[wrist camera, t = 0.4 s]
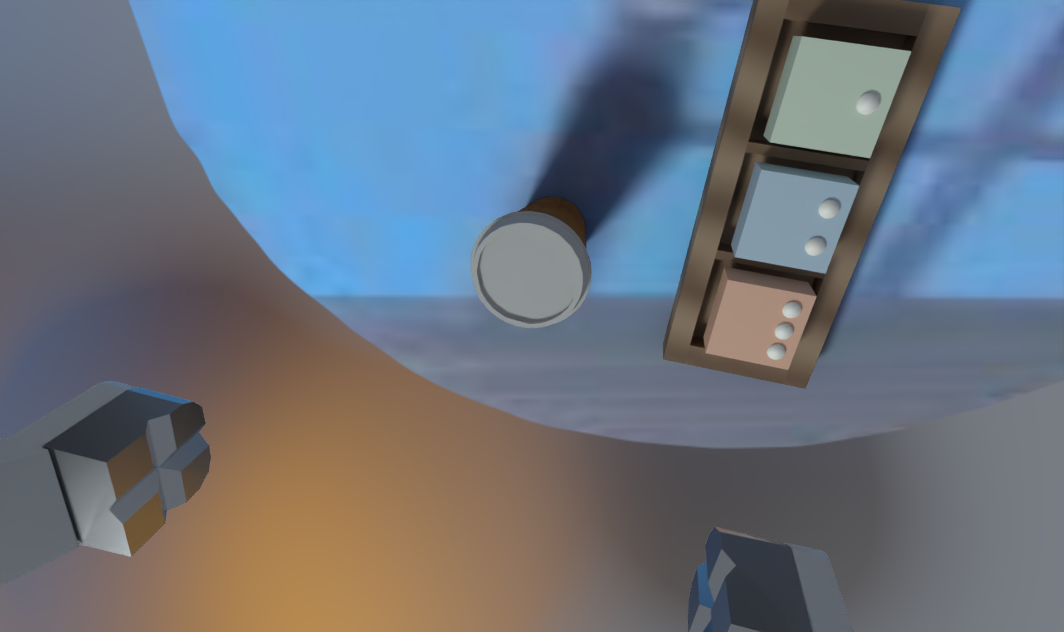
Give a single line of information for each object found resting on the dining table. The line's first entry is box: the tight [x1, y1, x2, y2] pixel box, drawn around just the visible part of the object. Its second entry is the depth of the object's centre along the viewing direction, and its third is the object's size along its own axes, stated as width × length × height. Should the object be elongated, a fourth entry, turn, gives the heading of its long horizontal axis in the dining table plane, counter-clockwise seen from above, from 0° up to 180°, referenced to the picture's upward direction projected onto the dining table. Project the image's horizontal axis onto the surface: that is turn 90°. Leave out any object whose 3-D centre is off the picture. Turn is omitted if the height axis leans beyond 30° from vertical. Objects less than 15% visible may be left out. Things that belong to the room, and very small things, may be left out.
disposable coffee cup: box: [471, 197, 591, 328], centre depth 49 cm, size 10×10×12 cm
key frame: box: [663, 0, 961, 388], centre depth 48 cm, size 31×13×3 cm, turn 173°
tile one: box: [763, 36, 911, 158], centre depth 42 cm, size 7×7×3 cm
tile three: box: [703, 267, 817, 370], centre depth 50 cm, size 7×7×3 cm
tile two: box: [731, 162, 859, 274], centre depth 46 cm, size 7×7×3 cm
